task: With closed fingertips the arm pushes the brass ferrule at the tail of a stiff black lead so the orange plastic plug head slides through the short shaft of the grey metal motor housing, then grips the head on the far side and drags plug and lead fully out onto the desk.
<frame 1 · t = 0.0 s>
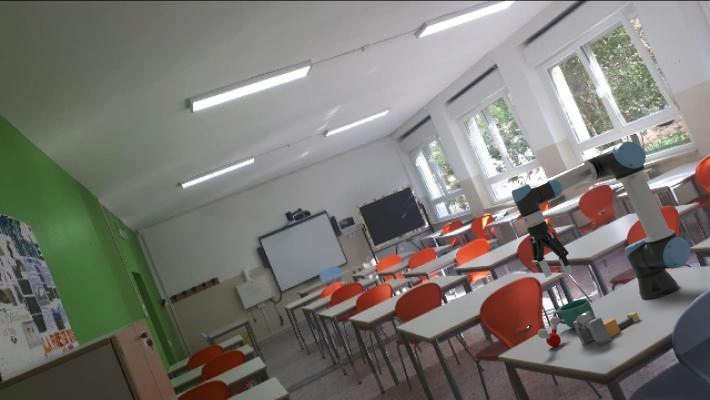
hand: (559, 275, 218), 28 cm above the table, fingers open, 13 cm apart
molecular model: (556, 346, 231), on the table
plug: (610, 334, 217), on the table
mug: (578, 326, 245), on the table
housing: (596, 342, 215), on the table
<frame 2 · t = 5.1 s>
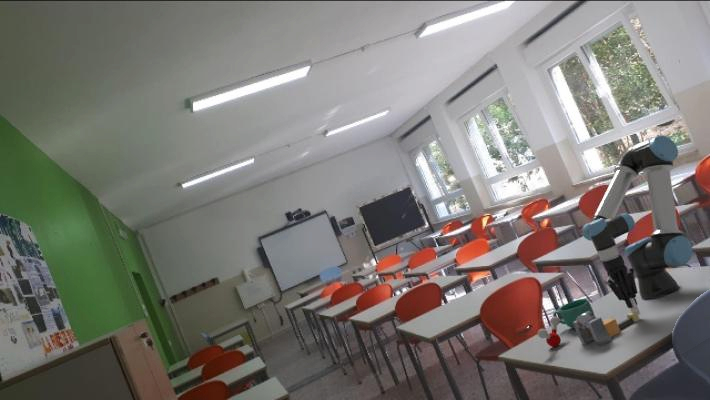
hand: (636, 314, 221), 2 cm above the table, fingers closed
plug: (610, 334, 217), on the table, touching gripper
everything else where it was.
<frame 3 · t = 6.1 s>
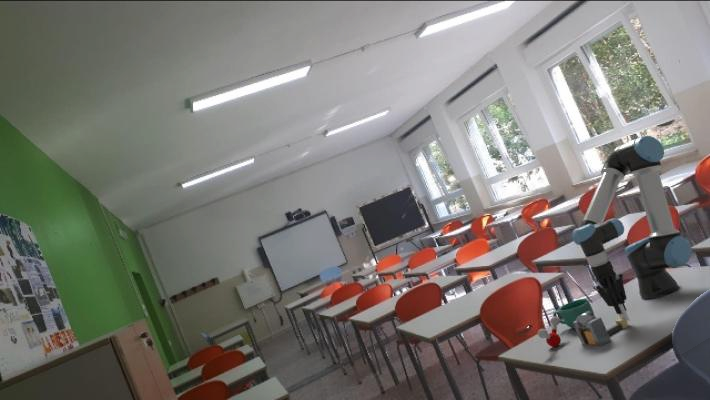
hand: (625, 320, 220), 2 cm above the table, fingers closed
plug: (599, 340, 216), on the table, touching gripper
everything else where it was.
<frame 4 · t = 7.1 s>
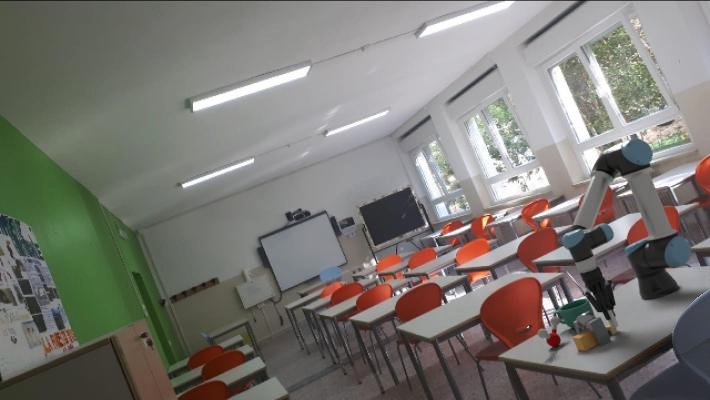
hand: (614, 326, 218), 2 cm above the table, fingers closed
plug: (587, 346, 214), on the table, touching gripper
everything else where it was.
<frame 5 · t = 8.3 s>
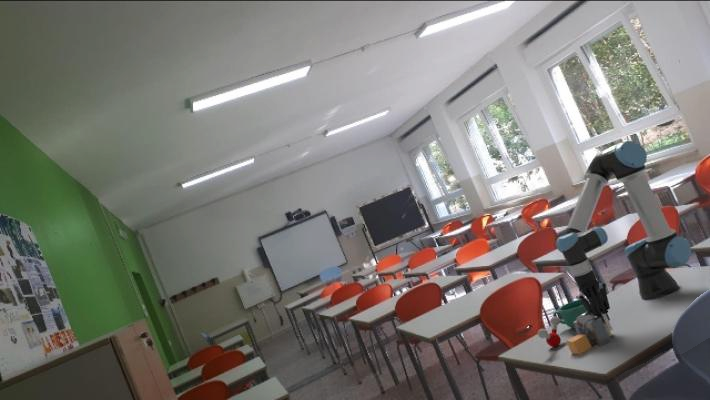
hand: (609, 330, 217), 2 cm above the table, fingers closed
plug: (581, 350, 213), on the table, touching gripper
everything else where it was.
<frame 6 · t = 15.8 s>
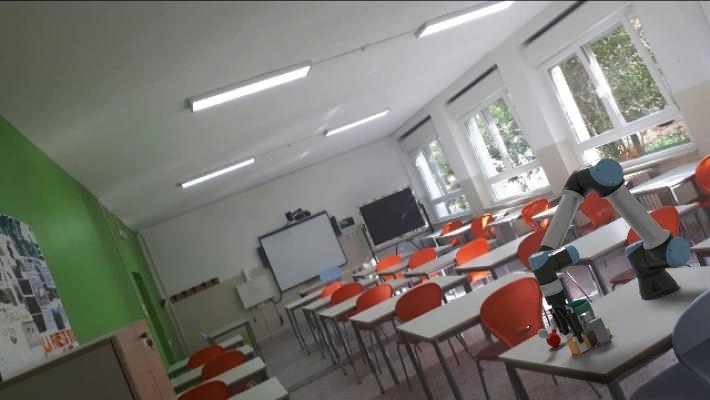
hand: (579, 350, 213), 0 cm above the table, fingers closed on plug, 4 cm apart
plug: (581, 350, 213), on the table, touching gripper
everything else where it was.
when the fingers open (0 cm above the table, at t = 17.9 s): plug stays where it is, on the table.
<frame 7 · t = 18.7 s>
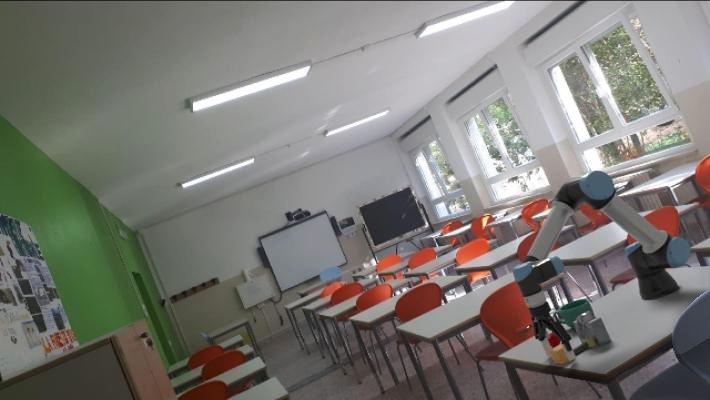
hand: (561, 357, 211), 1 cm above the table, fingers open, 13 cm apart
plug: (564, 360, 211), on the table
everything else where it was.
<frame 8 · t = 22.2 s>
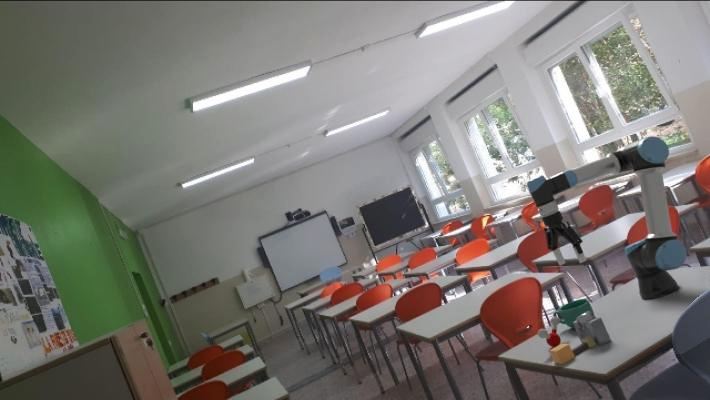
hand: (572, 263, 227), 29 cm above the table, fingers open, 13 cm apart
nothing on the table moved.
at the end: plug inside the target area (1.0 cm from its centre), on the table; the gripper is holding nothing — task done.
